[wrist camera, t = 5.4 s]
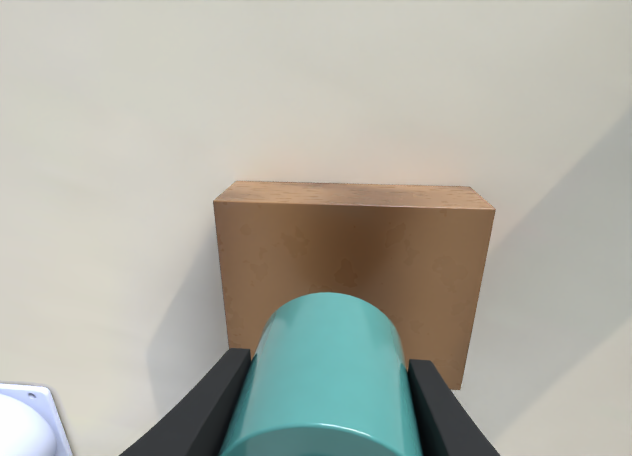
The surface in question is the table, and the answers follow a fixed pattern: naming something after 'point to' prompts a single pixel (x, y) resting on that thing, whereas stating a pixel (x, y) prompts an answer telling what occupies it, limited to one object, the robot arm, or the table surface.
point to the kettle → (325, 385)
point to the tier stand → (358, 258)
